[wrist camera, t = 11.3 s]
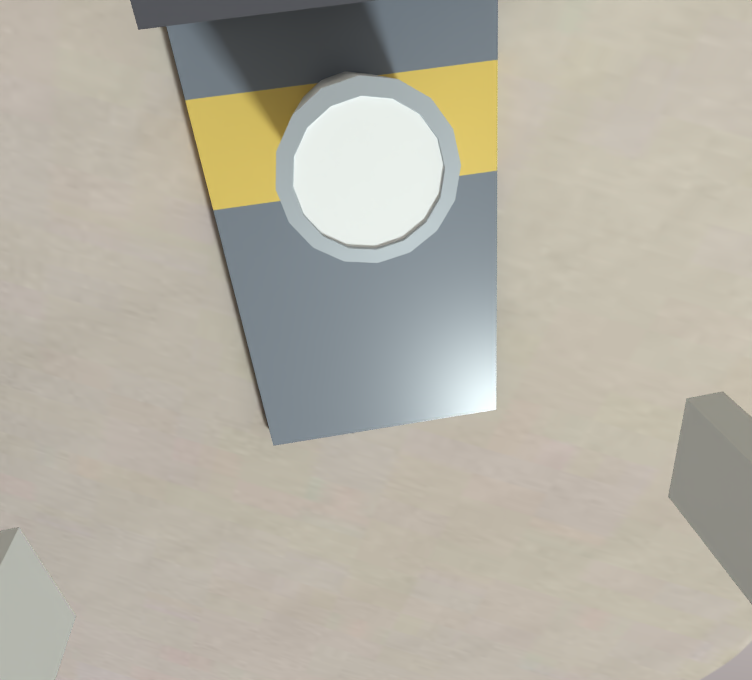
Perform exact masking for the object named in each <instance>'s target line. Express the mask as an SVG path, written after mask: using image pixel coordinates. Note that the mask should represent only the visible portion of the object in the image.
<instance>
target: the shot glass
mask: <svg viewBox="0 0 752 680" xmlns="http://www.w3.org/2000/svg"><path fill="white" fill-rule="evenodd" d="M460 168H461V162H460V158H459V153H458V149H457V144H456V140H455V135H454V130H453V128H452V127H451V125H450V124H449V122H448V121H447V120H446V118H445V117H444V115H443V114H442V113H441V111H440V110H439V108H438V107H437V106H436V104H435V103H434V101H433V100H432V99H431V98H430V97H428V96H426V95H425V94H423V93H421V92H419V91H418V90H416V89H414V88H413V87H411V86H409V85H407V84H406V83H404V82H402V81H401V80H399V79H395V78H390V77H384V76H379V75H373V74H366V73H356V72H342V73H339V74H337V75H334V76H331V77H328V78H325V79H322V80H321V81H320V82H319V83H318V84H316V85H315V86H314V87H313V88H312V89H311V90H310V91H309V92H308V93H307V94H306V95H305V96H304V97H303V98H302V100H301V101H300V103H299V105H298V106H297V108H296V110H295V111H294V113H293V115H292V117H291V119H290V121H289V123H288V126H287V128H286V130H285V133H284V135H283V137H282V139H281V142H280V144H279V146H278V148H277V151H276V191H277V194H278V196H279V199H280V201H281V204H282V206H283V209H284V211H285V214H286V216H287V219H288V221H289V223H290V224H291V225H292V226H293V227H294V228H295V229H296V230H297V231H298V232H299V233H300V235H301V236H302V237H303V238H304V239H305V240H306V241H307V242H308V243H309V244H310V245H311V246H312V247H313V248H315V249H317V250H320V251H322V252H324V253H326V254H329V255H331V256H333V257H335V258H338V259H340V260H342V261H345V262H367V263H379V262H382V261H385V260H389V259H392V258H395V257H398V256H401V255H404V254H407V253H410V252H411V251H412V250H414V249H415V248H416V247H417V246H419V245H420V244H421V243H422V242H424V241H425V240H426V239H427V238H429V237H430V236H431V235H432V234H434V233H435V232H436V231H437V230H438V228H439V227H440V225H441V223H442V222H443V220H444V218H445V217H446V215H447V213H448V211H449V210H450V208H451V206H452V205H453V203H454V201H455V198H456V192H457V186H458V180H459V174H460Z"/></svg>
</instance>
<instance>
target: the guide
mask: <svg viewBox="0 0 752 680" xmlns="http://www.w3.org/2000/svg"><path fill="white" fill-rule="evenodd" d="M130 1H131V5H132V8H133V12H134V15H135V19H136V23H137V26H138V30H139V29H147V28H156V27H164V26H166V27H167V31H168V35H169V39H170V43H171V47H172V50H173V54H174V58H175V62H176V66H177V70H178V74H179V78H180V82H181V86H182V90H183V93H184V97H185V101H186V105H187V109H188V113H189V117H190V121H191V125H192V129H193V133H194V136H195V140H196V144H197V148H198V152H199V156H200V160H201V164H202V168H203V172H204V176H205V180H206V183H207V187H208V191H209V195H210V199H211V203H212V207H213V211H214V215H215V219H216V223H217V226H218V230H219V234H220V238H221V242H222V246H223V250H224V254H225V258H226V262H227V266H228V270H229V273H230V277H231V281H232V285H233V289H234V293H235V297H236V301H237V305H238V309H239V313H240V316H241V320H242V324H243V328H244V332H245V336H246V340H247V344H248V348H249V352H250V356H251V360H252V363H253V367H254V371H255V375H256V379H257V383H258V387H259V391H260V395H261V399H262V403H263V406H264V410H265V414H266V418H267V422H268V426H269V430H270V434H271V438H272V442H273V446H274V445H280V444H286V443H293V442H299V441H305V440H311V439H317V438H323V437H330V436H336V435H342V434H348V433H354V432H361V431H367V430H373V429H379V428H385V427H392V426H398V425H404V424H410V423H416V422H423V421H429V420H435V419H441V418H447V417H453V416H460V415H466V414H472V413H478V412H484V411H491V410H496V311H497V63H498V0H130ZM342 72H356V73H366V74H373V75H379V76H384V77H390V78H395V79H399V80H401V81H402V82H404V83H406V84H407V85H409V86H411V87H413V88H414V89H416V90H418V91H419V92H421V93H423V94H425V95H426V96H428V97H430V98H431V99H432V100H433V101H434V103H435V104H436V106H437V107H438V108H439V110H440V111H441V113H442V114H443V115H444V117H445V118H446V120H447V121H448V122H449V124H450V125H451V127H452V128H453V130H454V135H455V140H456V144H457V149H458V153H459V158H460V162H461V168H460V174H459V180H458V186H457V192H456V198H455V201H454V203H453V205H452V206H451V208H450V210H449V211H448V213H447V215H446V217H445V218H444V220H443V222H442V223H441V225H440V227H439V228H438V230H437V231H436V232H435V233H434V234H432V235H431V236H430V237H429V238H427V239H426V240H425V241H424V242H422V243H421V244H420V245H419V246H417V247H416V248H415V249H414V250H412V251H411V252H410V253H407V254H404V255H401V256H398V257H395V258H392V259H389V260H385V261H382V262H379V263H367V262H345V261H342V260H340V259H338V258H335V257H333V256H331V255H329V254H326V253H324V252H322V251H320V250H317V249H315V248H313V247H312V246H311V245H310V244H309V243H308V242H307V241H306V240H305V239H304V238H303V237H302V236H301V235H300V233H299V232H298V231H297V230H296V229H295V228H294V227H293V226H292V225H291V224H290V223H289V221H288V219H287V216H286V214H285V211H284V209H283V206H282V204H281V201H280V199H279V196H278V194H277V191H276V151H277V148H278V146H279V144H280V142H281V139H282V137H283V135H284V133H285V130H286V128H287V126H288V123H289V121H290V119H291V117H292V115H293V113H294V111H295V110H296V108H297V106H298V105H299V103H300V101H301V100H302V98H303V97H304V96H305V95H306V94H307V93H308V92H309V91H310V90H311V89H312V88H313V87H314V86H315V85H316V84H318V83H319V82H320V81H321V80H322V79H325V78H328V77H331V76H334V75H337V74H339V73H342Z"/></svg>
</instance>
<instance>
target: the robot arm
mask: <svg viewBox="0 0 752 680" xmlns="http://www.w3.org/2000/svg"><path fill="white" fill-rule="evenodd" d="M668 497H669V498H670V499H671V501H672V502H673V503H674V505H675V506H676V507H677V508H678V510H679V511H680V512H681V514H682V515H683V516H684V517H685V519H686V520H687V521H688V523H689V524H690V525H691V527H692V528H693V529H694V530H695V532H696V533H697V534H698V536H699V537H700V538H701V539H702V541H703V542H704V543H705V545H706V546H707V547H708V548H709V550H710V551H711V552H712V554H713V555H714V556H715V558H716V559H717V560H718V561H719V563H720V564H721V565H722V567H723V568H724V569H725V570H726V572H727V573H728V574H729V576H730V577H731V578H732V580H733V581H734V582H735V583H736V585H737V586H738V587H739V589H740V590H741V591H742V592H743V594H744V595H745V596H746V598H747V599H748V600H749V601H750V603H751V604H752V417H751V416H750V415H749V414H747V413H746V412H745V411H744V410H743V409H742V408H741V407H740V406H739V405H737V404H736V403H735V402H734V401H733V400H732V399H731V398H730V397H728V396H727V395H726V394H725V393H724V392H718V393H713V394H708V395H703V396H697V397H692V398H687V399H686V404H685V410H684V415H683V420H682V426H681V431H680V436H679V442H678V447H677V453H676V458H675V463H674V469H673V474H672V479H671V485H670V490H669V495H668ZM75 618H76V615H75V613H74V612H73V610H72V609H71V607H70V606H69V604H68V603H67V601H66V599H65V598H64V596H63V595H62V593H61V592H60V590H59V589H58V587H57V585H56V584H55V582H54V581H53V579H52V578H51V576H50V575H49V573H48V571H47V570H46V568H45V567H44V565H43V564H42V562H41V561H40V559H39V557H38V556H37V554H36V553H35V551H34V550H33V548H32V547H31V545H30V543H29V542H28V540H27V539H26V537H25V536H24V534H23V533H22V531H21V529H20V528H19V527H17V528H12V529H7V530H2V531H0V680H55V679H56V676H57V673H58V670H59V666H60V663H61V660H62V657H63V654H64V651H65V648H66V645H67V642H68V639H69V636H70V633H71V630H72V627H73V624H74V621H75Z"/></svg>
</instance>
